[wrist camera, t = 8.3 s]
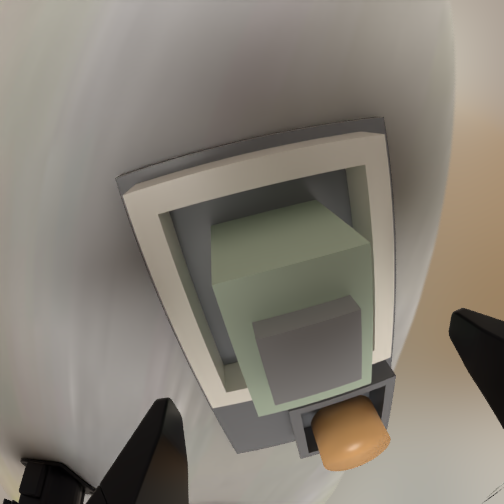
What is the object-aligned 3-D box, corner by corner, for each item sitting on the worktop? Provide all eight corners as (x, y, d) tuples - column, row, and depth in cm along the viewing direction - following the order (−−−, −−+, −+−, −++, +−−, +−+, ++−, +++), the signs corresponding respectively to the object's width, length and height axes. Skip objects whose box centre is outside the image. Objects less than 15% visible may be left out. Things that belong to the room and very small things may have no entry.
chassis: (382, 405, 20) (396, 431, 18) (236, 447, 20) (240, 477, 18) (377, 117, 12) (412, 118, 10) (119, 175, 12) (97, 189, 10)
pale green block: (331, 314, 15) (379, 397, 10) (244, 338, 15) (262, 433, 10) (315, 199, 13) (384, 253, 8) (210, 225, 13) (212, 301, 8)
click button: (370, 421, 18) (386, 455, 15) (313, 440, 18) (325, 477, 15) (373, 386, 16) (394, 423, 13) (307, 408, 16) (321, 450, 13)
